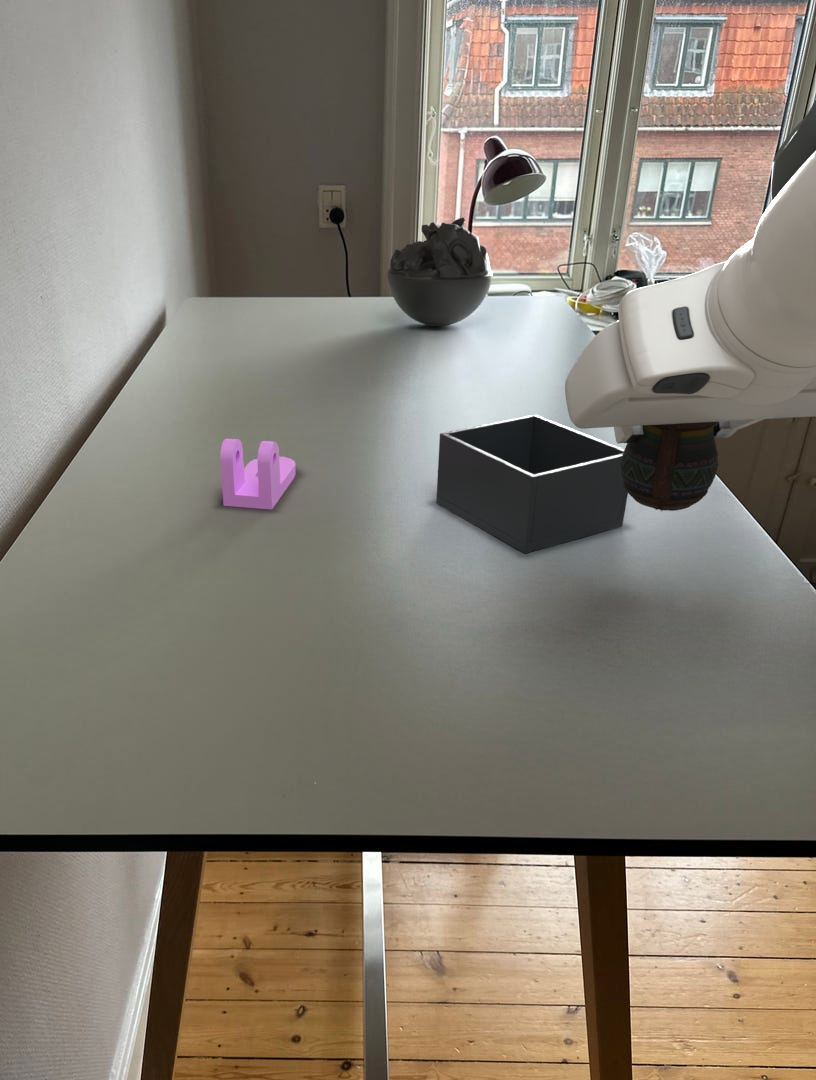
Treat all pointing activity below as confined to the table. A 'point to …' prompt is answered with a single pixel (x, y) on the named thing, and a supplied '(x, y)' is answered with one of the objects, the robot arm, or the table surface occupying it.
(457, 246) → the grey filled bowl
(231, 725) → the table surface
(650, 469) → the mate gourd
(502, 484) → the waste bin
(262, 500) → the bracket
